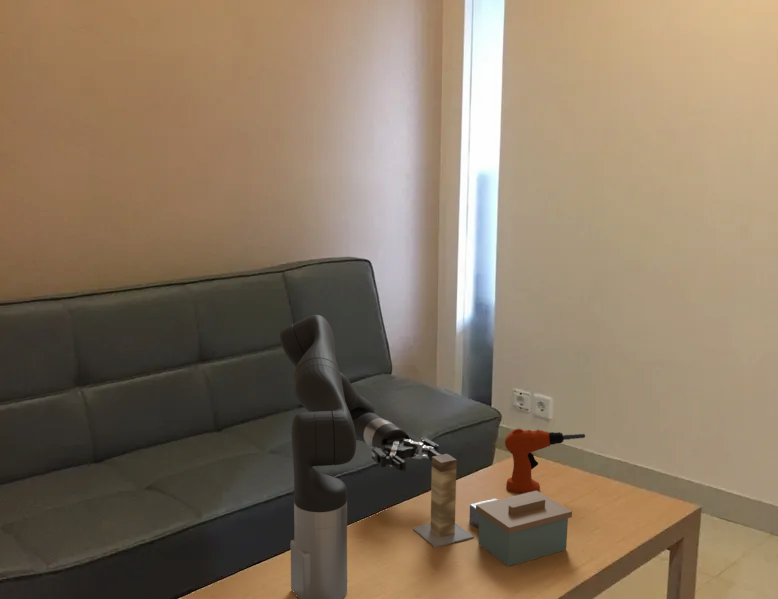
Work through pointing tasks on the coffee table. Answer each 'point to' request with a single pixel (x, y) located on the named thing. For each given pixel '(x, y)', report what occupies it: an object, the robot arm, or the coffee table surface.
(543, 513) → the toolbox
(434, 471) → the mottled beige block
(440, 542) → the rubber mat
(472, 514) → the gray open box
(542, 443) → the toy drill
